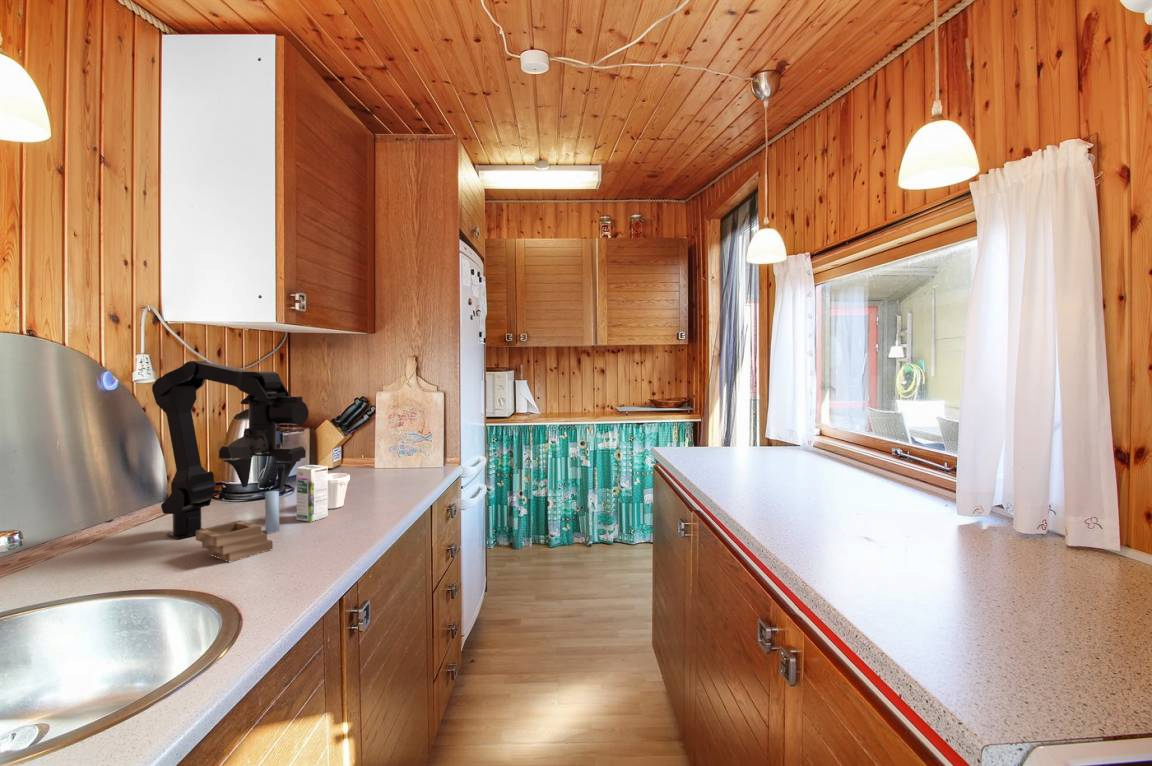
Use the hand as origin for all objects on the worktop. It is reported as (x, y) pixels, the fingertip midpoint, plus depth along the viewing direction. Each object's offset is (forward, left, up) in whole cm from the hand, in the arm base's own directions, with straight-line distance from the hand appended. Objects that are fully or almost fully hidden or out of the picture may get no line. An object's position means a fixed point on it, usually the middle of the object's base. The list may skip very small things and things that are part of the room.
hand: (262, 487), depth 124 cm
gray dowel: (-4, +5, -13) cm, 14 cm away
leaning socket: (+5, -9, -12) cm, 16 cm away
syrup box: (-6, +17, -13) cm, 22 cm away
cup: (-12, +27, -13) cm, 32 cm away
